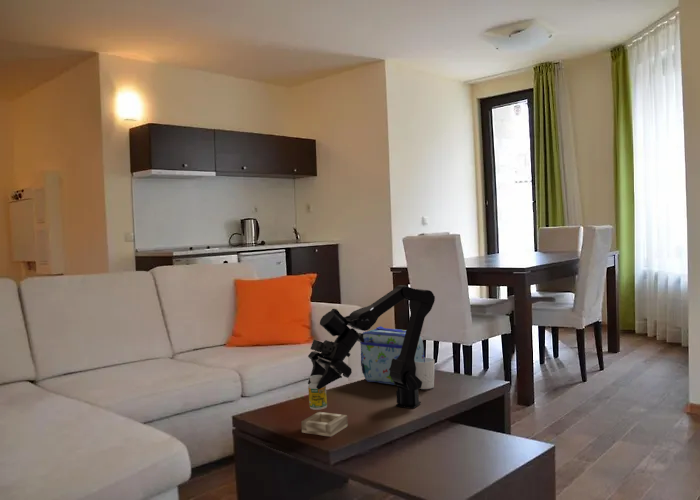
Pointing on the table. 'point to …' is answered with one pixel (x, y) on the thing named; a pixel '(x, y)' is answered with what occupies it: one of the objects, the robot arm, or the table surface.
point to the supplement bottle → (317, 394)
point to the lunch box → (383, 353)
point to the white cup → (425, 373)
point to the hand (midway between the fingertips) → (313, 386)
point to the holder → (324, 424)
